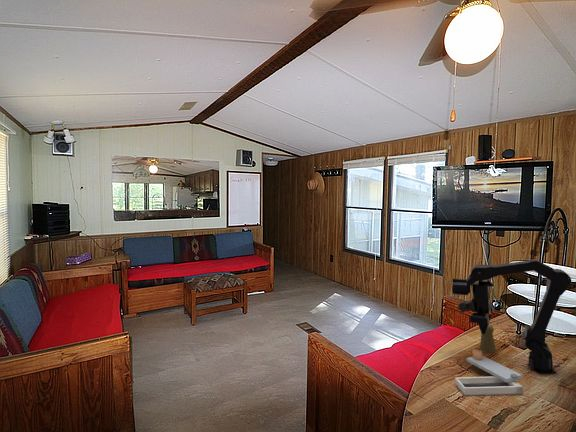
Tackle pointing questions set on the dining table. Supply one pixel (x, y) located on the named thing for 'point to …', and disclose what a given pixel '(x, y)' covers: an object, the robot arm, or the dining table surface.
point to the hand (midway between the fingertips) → (483, 333)
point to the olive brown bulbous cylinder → (488, 341)
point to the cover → (493, 367)
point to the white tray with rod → (487, 386)
